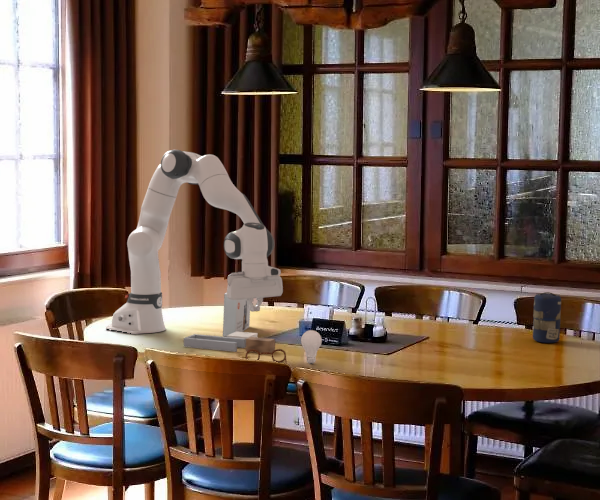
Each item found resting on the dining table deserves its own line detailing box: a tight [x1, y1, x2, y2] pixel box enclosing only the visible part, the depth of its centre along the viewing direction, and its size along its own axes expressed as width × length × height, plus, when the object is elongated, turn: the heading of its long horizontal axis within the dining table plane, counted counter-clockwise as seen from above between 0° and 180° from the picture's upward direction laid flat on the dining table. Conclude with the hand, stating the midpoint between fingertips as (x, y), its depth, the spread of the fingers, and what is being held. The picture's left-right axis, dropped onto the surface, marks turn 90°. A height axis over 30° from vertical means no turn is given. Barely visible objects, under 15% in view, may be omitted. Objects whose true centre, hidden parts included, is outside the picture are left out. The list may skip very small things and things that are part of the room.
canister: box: [532, 291, 562, 344], centre depth 369 cm, size 10×10×18 cm
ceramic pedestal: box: [226, 331, 259, 339], centre depth 362 cm, size 8×8×4 cm
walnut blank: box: [245, 337, 276, 354], centre depth 350 cm, size 9×4×4 cm, turn 67°
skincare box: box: [222, 292, 251, 337], centre depth 384 cm, size 21×6×16 cm, turn 168°
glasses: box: [245, 348, 288, 365], centre depth 327 cm, size 13×13×5 cm
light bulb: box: [300, 329, 323, 365], centre depth 331 cm, size 7×7×11 cm
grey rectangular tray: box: [183, 333, 246, 353], centre depth 357 cm, size 20×8×3 cm, turn 67°
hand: (255, 311), depth 351 cm, fingers closed
